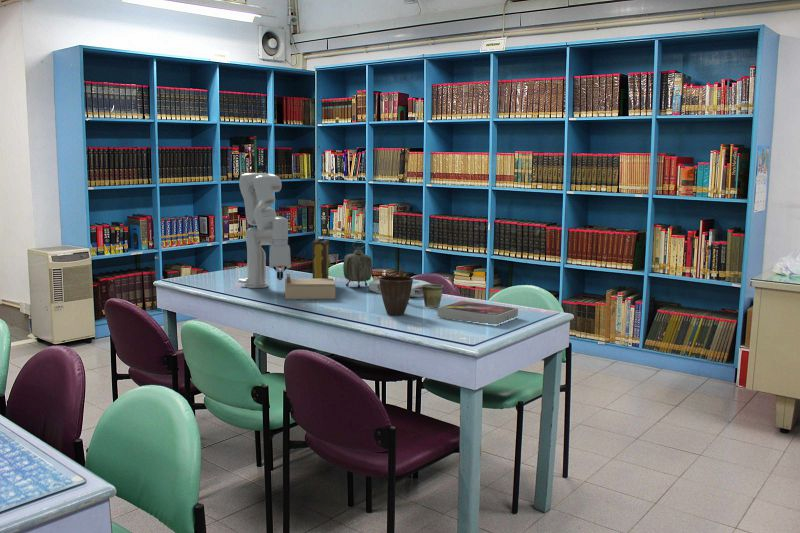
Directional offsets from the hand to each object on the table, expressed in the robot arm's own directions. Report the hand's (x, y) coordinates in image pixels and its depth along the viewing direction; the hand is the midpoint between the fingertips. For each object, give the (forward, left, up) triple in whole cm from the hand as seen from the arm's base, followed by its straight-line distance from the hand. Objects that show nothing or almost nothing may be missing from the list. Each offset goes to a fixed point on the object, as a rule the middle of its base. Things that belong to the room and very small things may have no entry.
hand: (280, 279), depth 349 cm
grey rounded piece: (+42, +28, -9) cm, 51 cm away
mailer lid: (+15, 0, -2) cm, 15 cm away
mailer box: (+15, 0, -8) cm, 17 cm away
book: (+22, +30, -9) cm, 38 cm away
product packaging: (+86, -55, -9) cm, 102 cm away
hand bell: (+58, -15, -9) cm, 60 cm away
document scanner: (+63, +10, -9) cm, 64 cm away
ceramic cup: (+72, -27, -9) cm, 77 cm away
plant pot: (+51, -45, -9) cm, 68 cm away
